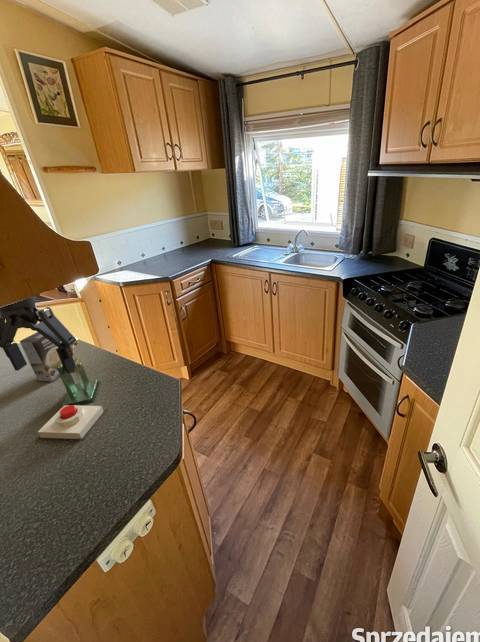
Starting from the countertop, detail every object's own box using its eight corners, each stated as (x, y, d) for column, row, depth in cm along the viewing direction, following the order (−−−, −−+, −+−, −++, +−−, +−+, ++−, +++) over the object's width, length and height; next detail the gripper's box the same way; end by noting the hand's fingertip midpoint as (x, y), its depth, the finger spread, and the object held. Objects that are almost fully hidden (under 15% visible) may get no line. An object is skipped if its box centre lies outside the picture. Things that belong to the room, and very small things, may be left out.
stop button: (58, 419, 80) (56, 414, 79) (68, 409, 83) (65, 405, 82) (70, 419, 80) (68, 414, 79) (79, 410, 83) (77, 405, 82)
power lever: (69, 341, 97) (65, 335, 95) (80, 339, 98) (76, 333, 96) (66, 374, 89) (61, 369, 87) (77, 372, 90) (73, 367, 88)
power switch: (71, 388, 97) (58, 356, 92) (98, 382, 100) (86, 351, 94) (63, 408, 89) (47, 374, 83) (92, 401, 91) (79, 368, 86)
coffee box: (52, 382, 101) (33, 342, 94) (37, 380, 102) (18, 341, 95) (73, 366, 109) (57, 329, 102) (59, 365, 110) (42, 328, 104)
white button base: (40, 437, 79) (34, 427, 77) (66, 410, 88) (62, 400, 86) (81, 439, 78) (76, 428, 76) (103, 411, 87) (99, 401, 85)
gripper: (73, 283, 66) (101, 360, 75) (-24, 284, 69) (14, 358, 78) (48, 295, 59) (81, 378, 69) (-59, 296, 62) (-13, 376, 71)
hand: (45, 368), depth 73 cm, fingers open, 13 cm apart
